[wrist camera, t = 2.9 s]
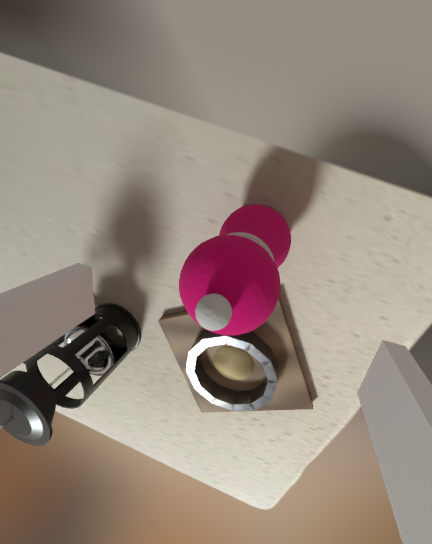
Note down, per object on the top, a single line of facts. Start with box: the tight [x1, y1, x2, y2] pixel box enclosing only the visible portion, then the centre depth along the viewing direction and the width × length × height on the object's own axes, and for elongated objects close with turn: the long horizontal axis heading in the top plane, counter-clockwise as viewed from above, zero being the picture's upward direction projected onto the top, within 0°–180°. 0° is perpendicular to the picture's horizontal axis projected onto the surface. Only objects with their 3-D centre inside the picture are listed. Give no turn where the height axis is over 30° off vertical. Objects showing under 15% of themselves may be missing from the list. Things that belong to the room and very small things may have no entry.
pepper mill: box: [179, 204, 291, 335], centre depth 20 cm, size 7×7×20 cm
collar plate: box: [158, 297, 313, 412], centre depth 36 cm, size 18×18×1 cm
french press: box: [0, 303, 141, 446], centre depth 31 cm, size 12×9×23 cm
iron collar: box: [186, 330, 279, 411], centre depth 34 cm, size 12×12×2 cm
